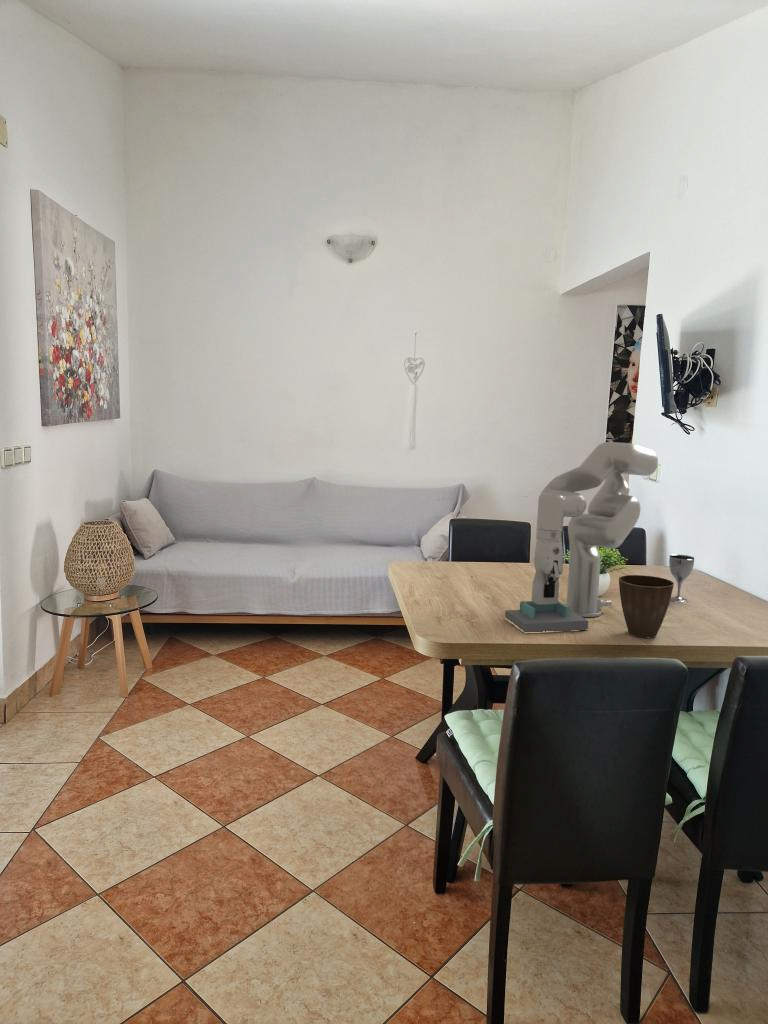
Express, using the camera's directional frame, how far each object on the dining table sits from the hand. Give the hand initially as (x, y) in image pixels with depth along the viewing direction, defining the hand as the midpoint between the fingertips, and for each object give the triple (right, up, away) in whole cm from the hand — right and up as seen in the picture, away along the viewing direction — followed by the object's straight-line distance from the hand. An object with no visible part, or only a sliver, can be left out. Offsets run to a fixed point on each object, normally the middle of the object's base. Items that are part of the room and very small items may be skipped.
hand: (545, 594), depth 217 cm
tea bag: (0, -3, 0) cm, 2 cm away
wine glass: (+53, -6, +34) cm, 64 cm away
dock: (0, -9, +1) cm, 9 cm away
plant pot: (+27, -11, -6) cm, 29 cm away
